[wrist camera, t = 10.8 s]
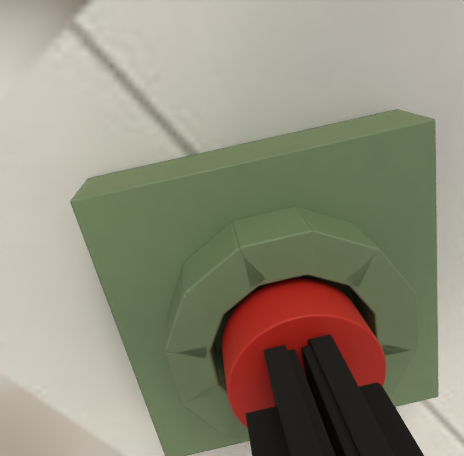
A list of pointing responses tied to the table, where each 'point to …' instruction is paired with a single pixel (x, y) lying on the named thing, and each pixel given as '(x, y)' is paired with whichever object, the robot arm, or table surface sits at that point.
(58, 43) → the table surface
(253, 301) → the button
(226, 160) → the button box
